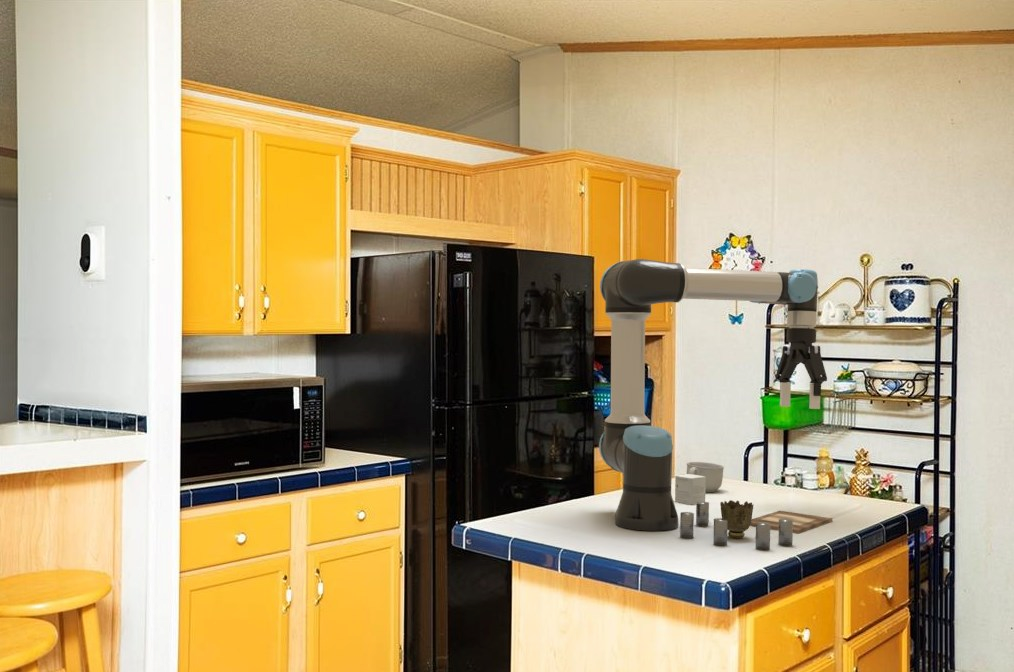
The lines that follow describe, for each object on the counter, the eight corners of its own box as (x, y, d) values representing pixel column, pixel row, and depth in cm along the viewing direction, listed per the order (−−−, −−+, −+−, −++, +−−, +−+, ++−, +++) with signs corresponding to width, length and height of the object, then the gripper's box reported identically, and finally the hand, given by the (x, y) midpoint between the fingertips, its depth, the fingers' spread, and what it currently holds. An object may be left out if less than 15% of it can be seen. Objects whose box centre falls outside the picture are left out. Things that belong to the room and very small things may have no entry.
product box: (674, 501, 267) (674, 475, 267) (688, 499, 271) (688, 473, 271) (691, 505, 263) (692, 478, 262) (706, 502, 266) (706, 476, 266)
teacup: (701, 486, 294) (702, 460, 294) (731, 491, 285) (731, 464, 285) (671, 491, 285) (671, 463, 285) (700, 496, 276) (701, 468, 276)
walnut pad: (798, 533, 228) (798, 529, 228) (743, 524, 237) (743, 521, 237) (832, 521, 243) (832, 517, 243) (779, 513, 252) (779, 510, 252)
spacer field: (710, 552, 206) (711, 527, 206) (657, 525, 234) (657, 502, 234) (801, 548, 212) (801, 523, 212) (738, 522, 239) (739, 500, 239)
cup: (714, 538, 221) (715, 503, 221) (726, 532, 227) (727, 498, 227) (746, 542, 217) (746, 507, 217) (757, 537, 223) (758, 502, 223)
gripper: (842, 327, 247) (840, 410, 247) (787, 330, 271) (785, 406, 270) (817, 325, 245) (814, 409, 244) (763, 328, 269) (761, 405, 268)
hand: (799, 407), depth 257 cm, fingers open, 13 cm apart
